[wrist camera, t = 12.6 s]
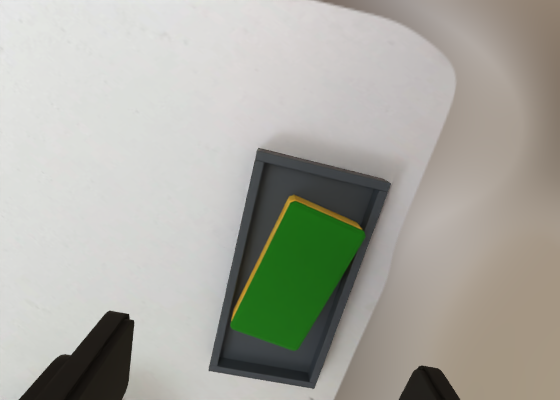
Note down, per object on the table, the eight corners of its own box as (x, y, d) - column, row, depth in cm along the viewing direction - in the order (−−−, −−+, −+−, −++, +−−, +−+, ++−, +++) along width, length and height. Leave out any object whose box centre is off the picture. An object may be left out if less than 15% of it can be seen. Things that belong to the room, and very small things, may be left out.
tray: (258, 147, 24) (257, 150, 22) (383, 178, 25) (391, 183, 23) (211, 356, 30) (208, 371, 29) (312, 374, 31) (314, 389, 30)
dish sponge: (232, 311, 28) (228, 329, 26) (290, 192, 24) (292, 200, 22) (294, 334, 29) (296, 353, 27) (359, 223, 25) (368, 234, 23)
